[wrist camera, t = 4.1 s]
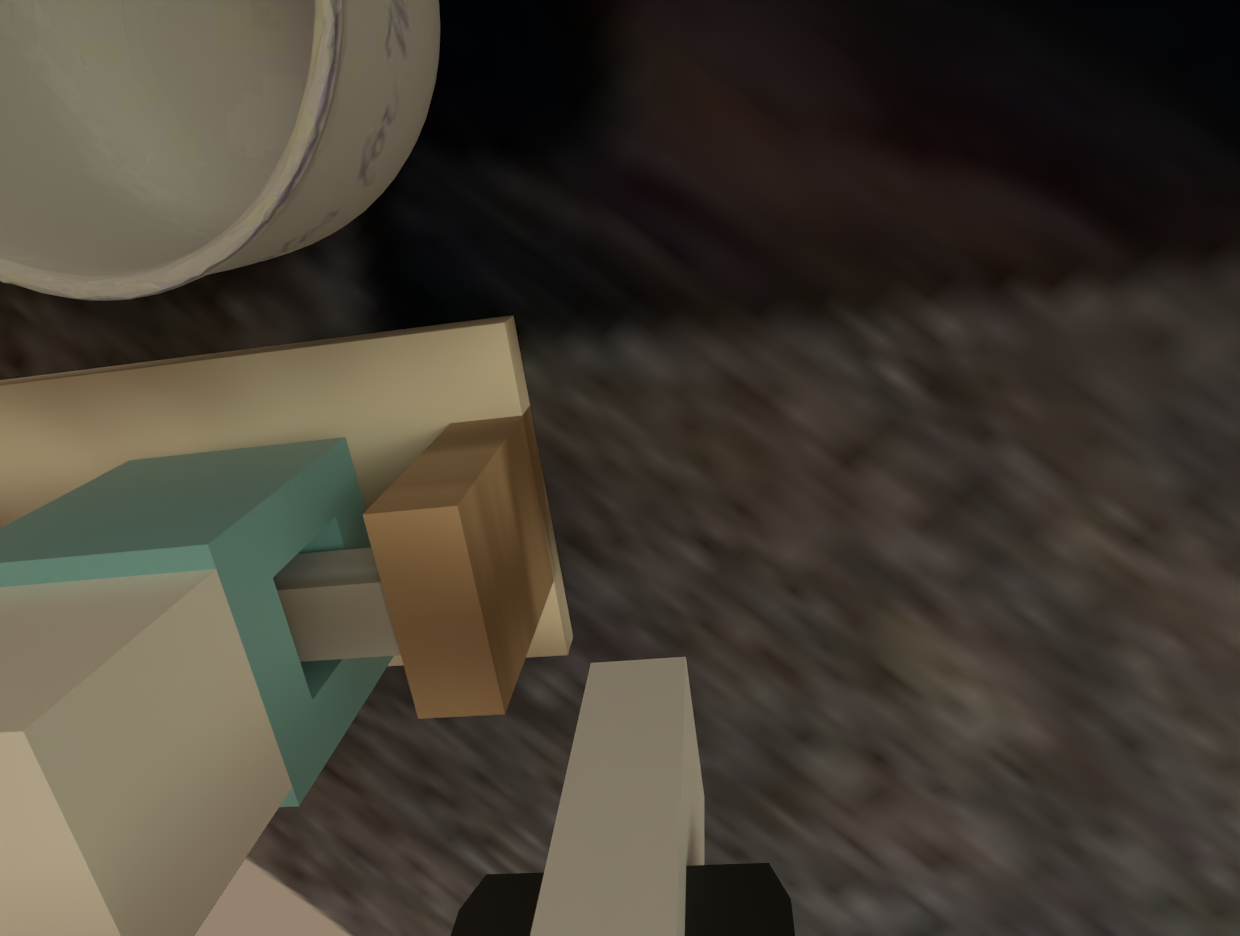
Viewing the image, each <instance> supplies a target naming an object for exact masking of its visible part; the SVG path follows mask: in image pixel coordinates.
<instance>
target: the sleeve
mask: <svg viewBox="0 0 1240 936" xmlns="http://www.w3.org/2000/svg"><path fill="white" fill-rule="evenodd" d="M365 512H366V510H365V506H364V503H363V499H362V495H361V491H360V488H359V484H358V480H357V477H356V473H355V469H354V466H353V462H352V458H351V455H350V451H349V447H348V444H347V440H346V437H342V438H333V439H323V440H314V441H305V442H295V443H286V444H277V445H267V446H258V447H249V448H239V449H230V450H221V451H211V452H202V453H193V454H183V455H174V456H165V457H155V458H146V459H137V460H129V461H127V462H125V463H123V464H121V465H119V466H118V467H116V468H114V469H112V470H110V471H108V472H106V473H104V474H102V475H100V476H99V477H97V478H95V479H93V480H91V481H89V482H87V483H85V484H83V485H82V486H80V487H78V488H76V489H74V490H72V491H70V492H68V493H66V494H64V495H63V496H61V497H59V498H57V499H55V500H53V501H51V502H49V503H47V504H45V505H44V506H42V507H40V508H38V509H36V510H34V511H32V512H30V513H28V514H27V515H25V516H23V517H21V518H19V519H17V520H15V521H13V522H11V523H9V524H8V525H6V526H4V527H2V528H0V936H194V935H195V934H196V932H197V931H198V929H199V928H200V926H201V925H202V923H203V922H204V920H205V919H206V917H207V915H208V914H209V912H210V911H211V909H212V908H213V906H214V905H215V903H216V902H217V900H218V899H219V897H220V896H221V894H222V893H223V891H224V890H225V888H226V886H227V885H228V883H229V882H230V881H231V879H232V878H233V876H234V875H235V873H236V871H237V870H238V868H239V867H240V865H241V864H242V862H243V861H244V859H245V858H246V856H247V855H248V853H249V852H250V850H251V849H252V847H253V846H254V844H255V843H256V841H257V840H258V838H259V837H260V835H261V834H262V832H263V831H264V829H265V828H266V826H267V825H268V823H269V822H270V820H271V819H272V817H273V816H274V814H275V812H276V811H277V809H278V808H279V807H294V806H300V804H301V802H302V801H303V799H304V798H305V796H306V795H307V793H308V791H309V790H310V788H311V787H312V785H313V783H314V782H315V780H316V779H317V777H318V776H319V774H320V772H321V771H322V769H323V768H324V766H325V764H326V763H327V761H328V760H329V758H330V756H331V755H332V753H333V752H334V750H335V749H336V747H337V745H338V744H339V742H340V741H341V739H342V737H343V736H344V734H345V733H346V731H347V730H348V728H349V726H350V725H351V723H352V722H353V720H354V718H355V717H356V715H357V714H358V712H359V710H360V709H361V707H362V706H363V704H364V703H365V701H366V699H367V698H368V696H369V695H370V693H371V691H372V690H373V688H374V687H375V685H376V683H377V682H378V680H379V679H380V677H381V676H382V674H383V672H384V671H385V669H386V668H387V666H388V664H389V663H390V661H391V660H392V658H393V657H394V656H382V657H367V658H351V659H336V660H320V661H305V662H300V660H299V657H298V654H297V651H296V648H295V645H294V642H293V638H292V635H291V632H290V629H289V626H288V623H287V620H286V617H285V614H284V611H283V608H282V604H281V601H280V598H279V595H278V592H277V589H276V586H275V583H274V580H273V577H274V576H275V575H276V574H277V573H278V572H279V571H280V570H281V569H282V568H283V567H284V566H286V565H287V564H288V563H289V562H290V561H291V560H292V559H293V558H294V557H295V556H296V555H297V554H300V553H312V552H324V551H335V550H347V549H359V548H370V547H371V544H370V540H369V536H368V533H367V529H366V525H365V522H364V518H363V514H364V513H365Z"/></svg>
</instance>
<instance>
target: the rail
mask: <svg viewBox="0 0 1240 936" xmlns="http://www.w3.org/2000/svg"><path fill="white" fill-rule="evenodd" d="M342 437H346V440H347V444H348V447H349V451H350V455H351V458H352V462H353V466H354V469H355V473H356V477H357V480H358V484H359V488H360V491H361V495H362V499H363V503H364V506H365V510H366V512H365V513H364V514H363V518H364V522H365V525H366V529H367V533H368V536H369V540H370V544H371V547H370V548H359V549H347V550H335V551H324V552H312V553H300V554H297V555H296V556H295V557H294V558H293V559H292V560H291V561H290V562H289V563H288V564H287V565H286V566H284V567H283V568H282V569H281V570H280V571H279V572H278V573H277V574H276V575H275V576H274V577H273V580H274V583H275V586H276V589H277V592H278V595H279V598H280V601H281V604H282V608H283V611H284V614H285V617H286V620H287V623H288V626H289V629H290V632H291V635H292V638H293V642H294V645H295V648H296V651H297V654H298V657H299V660H300V662H305V661H320V660H336V659H351V658H367V657H382V656H394V657H393V658H392V660H391V661H390V663H389V664H388V666H400V665H404V668H405V672H406V676H407V679H408V683H409V687H410V690H411V694H412V698H413V701H414V705H415V708H416V712H417V716H418V719H424V718H443V717H462V716H481V715H500V714H505V713H506V710H507V707H508V705H509V702H510V699H511V696H512V694H513V691H514V688H515V685H516V683H517V680H518V677H519V675H520V672H521V669H522V666H523V664H524V661H525V658H528V657H544V656H560V655H568V653H569V649H570V646H571V642H572V639H573V633H572V628H571V622H570V617H569V612H568V606H567V601H566V596H565V590H564V585H563V579H562V574H561V569H560V563H559V558H558V553H557V547H556V542H555V536H554V531H553V526H552V520H551V515H550V510H549V504H548V499H547V494H546V488H545V483H544V477H543V472H542V467H541V461H540V456H539V451H538V445H537V440H536V434H535V429H534V424H533V418H532V413H531V408H530V402H529V397H528V391H527V386H526V381H525V375H524V370H523V365H522V359H521V354H520V348H519V343H518V338H517V332H516V327H515V322H514V316H513V315H512V316H504V317H497V318H489V319H481V320H473V321H465V322H457V323H449V324H441V325H433V326H425V327H417V328H409V329H402V330H394V331H386V332H378V333H370V334H362V335H354V336H346V337H338V338H330V339H322V340H314V341H307V342H299V343H291V344H283V345H275V346H267V347H259V348H251V349H243V350H235V351H227V352H219V353H212V354H204V355H196V356H188V357H180V358H172V359H164V360H156V361H148V362H140V363H132V364H125V365H117V366H109V367H101V368H93V369H85V370H77V371H69V372H61V373H53V374H45V375H37V376H30V377H22V378H14V379H6V380H0V528H2V527H4V526H6V525H8V524H9V523H11V522H13V521H15V520H17V519H19V518H21V517H23V516H25V515H27V514H28V513H30V512H32V511H34V510H36V509H38V508H40V507H42V506H44V505H45V504H47V503H49V502H51V501H53V500H55V499H57V498H59V497H61V496H63V495H64V494H66V493H68V492H70V491H72V490H74V489H76V488H78V487H80V486H82V485H83V484H85V483H87V482H89V481H91V480H93V479H95V478H97V477H99V476H100V475H102V474H104V473H106V472H108V471H110V470H112V469H114V468H116V467H118V466H119V465H121V464H123V463H125V462H127V461H129V460H137V459H146V458H155V457H165V456H174V455H183V454H193V453H202V452H211V451H221V450H230V449H239V448H249V447H258V446H267V445H277V444H286V443H295V442H305V441H314V440H323V439H333V438H342Z"/></svg>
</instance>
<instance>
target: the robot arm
mask: <svg viewBox="0 0 1240 936" xmlns="http://www.w3.org/2000/svg"><path fill="white" fill-rule="evenodd" d="M451 936H795V931H794V923H793V914H792V906H791V899H790V897H789V896H788V894H787V892H786V891H785V889H784V887H783V886H782V884H781V882H780V881H779V879H778V877H777V876H776V874H775V872H774V871H773V869H772V868H771V866H770V864H769V863H755V864H723V865H704V792H703V784H702V777H701V769H700V761H699V754H698V746H697V738H696V731H695V723H694V716H693V708H692V700H691V693H690V685H689V678H688V670H687V662H686V657H675V658H660V659H645V660H630V661H615V662H600V663H591V665H590V669H589V673H588V678H587V682H586V687H585V691H584V696H583V700H582V705H581V709H580V714H579V718H578V723H577V727H576V732H575V736H574V741H573V745H572V750H571V754H570V759H569V763H568V768H567V772H566V777H565V781H564V786H563V790H562V795H561V799H560V804H559V808H558V813H557V817H556V822H555V826H554V831H553V835H552V840H551V844H550V849H549V853H548V857H547V862H546V866H545V871H544V873H519V874H486V876H485V877H484V878H483V880H482V881H481V882H480V884H479V885H478V886H477V887H476V889H475V890H474V891H473V893H472V894H471V895H470V897H469V898H468V899H467V901H466V902H465V903H464V904H463V906H462V907H461V908H460V910H459V912H458V915H457V918H456V921H455V924H454V927H453V931H452V934H451Z"/></svg>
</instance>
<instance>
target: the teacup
mask: <svg viewBox="0 0 1240 936" xmlns="http://www.w3.org/2000/svg"><path fill="white" fill-rule="evenodd" d="M439 47H440V12H439V0H0V281H1V282H3V283H9V284H14V285H17V286H21V287H24V288H27V289H31V290H34V291H37V292H41V293H45V294H50V295H55V296H61V297H66V298H73V299H81V300H90V301H109V300H131V299H135V298H139V297H145V296H150V295H156V294H159V293H162V292H165V291H169V290H172V289H175V288H178V287H180V286H183V285H185V284H187V283H190V282H192V281H194V280H197V279H199V278H201V277H204V276H206V275H209V274H213V273H218V272H222V271H227V270H231V269H235V268H239V267H243V266H247V265H250V264H254V263H258V262H261V261H265V260H268V259H272V258H275V257H278V256H281V255H285V254H288V253H291V252H293V251H296V250H298V249H301V248H304V247H306V246H309V245H311V244H313V243H315V242H317V241H319V240H321V239H323V238H325V237H327V236H329V235H331V234H333V233H334V232H336V231H338V230H339V229H341V228H342V227H344V226H346V225H347V224H348V223H350V222H351V221H352V220H354V219H355V218H356V217H358V216H359V215H360V214H361V213H363V212H364V211H365V210H366V209H367V208H368V207H369V206H370V205H371V204H372V203H373V202H374V201H375V200H376V199H377V198H378V197H379V196H380V195H381V194H382V193H383V192H384V191H385V190H386V188H387V187H388V186H389V185H390V183H391V182H392V181H393V180H394V178H395V177H396V176H397V174H398V172H399V171H400V169H401V168H402V166H403V165H404V163H405V161H406V160H407V158H408V157H409V155H410V153H411V151H412V149H413V147H414V145H415V143H416V141H417V140H418V137H419V135H420V132H421V130H422V127H423V125H424V122H425V120H426V117H427V113H428V109H429V106H430V102H431V98H432V94H433V90H434V87H435V82H436V75H437V69H438V62H439Z"/></svg>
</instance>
